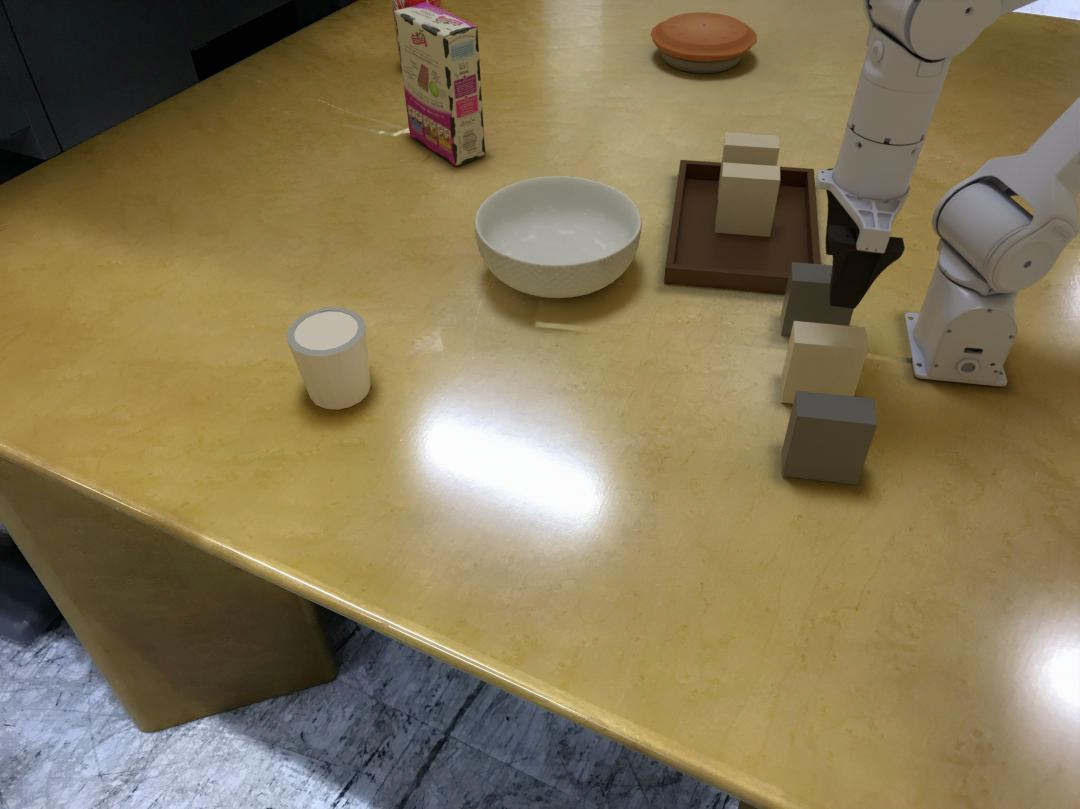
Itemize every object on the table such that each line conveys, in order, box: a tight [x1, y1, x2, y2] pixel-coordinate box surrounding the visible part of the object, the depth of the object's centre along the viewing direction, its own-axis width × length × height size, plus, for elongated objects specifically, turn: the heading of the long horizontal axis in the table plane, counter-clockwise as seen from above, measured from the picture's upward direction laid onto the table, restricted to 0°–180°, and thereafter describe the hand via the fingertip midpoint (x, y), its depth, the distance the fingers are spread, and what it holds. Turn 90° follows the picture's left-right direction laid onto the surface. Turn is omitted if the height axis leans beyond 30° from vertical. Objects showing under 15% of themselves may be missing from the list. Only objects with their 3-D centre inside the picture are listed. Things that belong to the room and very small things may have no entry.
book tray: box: [663, 159, 822, 295], centre depth 99 cm, size 23×16×3 cm
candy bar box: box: [394, 2, 486, 167], centre depth 111 cm, size 11×5×16 cm, turn 39°
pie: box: [650, 11, 758, 74], centre depth 133 cm, size 15×16×5 cm
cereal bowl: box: [474, 175, 643, 299], centre depth 93 cm, size 17×17×7 cm
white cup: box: [286, 306, 372, 411], centre depth 81 cm, size 7×7×7 cm
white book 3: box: [780, 321, 869, 405], centre depth 79 cm, size 3×6×7 cm, turn 80°
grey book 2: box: [781, 391, 878, 486], centre depth 72 cm, size 3×6×7 cm, turn 80°
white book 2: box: [715, 162, 781, 237], centre depth 98 cm, size 3×6×7 cm, turn 80°
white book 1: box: [717, 131, 781, 200], centre depth 103 cm, size 3×6×7 cm, turn 80°
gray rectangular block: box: [780, 262, 855, 337], centre depth 85 cm, size 3×6×7 cm, turn 80°
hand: (839, 278), depth 76 cm, fingers open, 7 cm apart
